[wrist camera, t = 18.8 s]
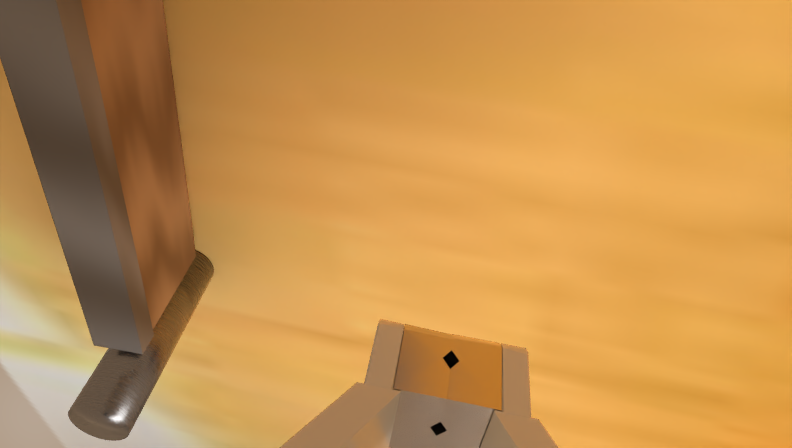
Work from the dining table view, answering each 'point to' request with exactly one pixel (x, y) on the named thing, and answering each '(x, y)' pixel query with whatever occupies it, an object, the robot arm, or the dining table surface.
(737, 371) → the dining table surface
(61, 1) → the gate
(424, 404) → the robot arm
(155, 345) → the hinge post
